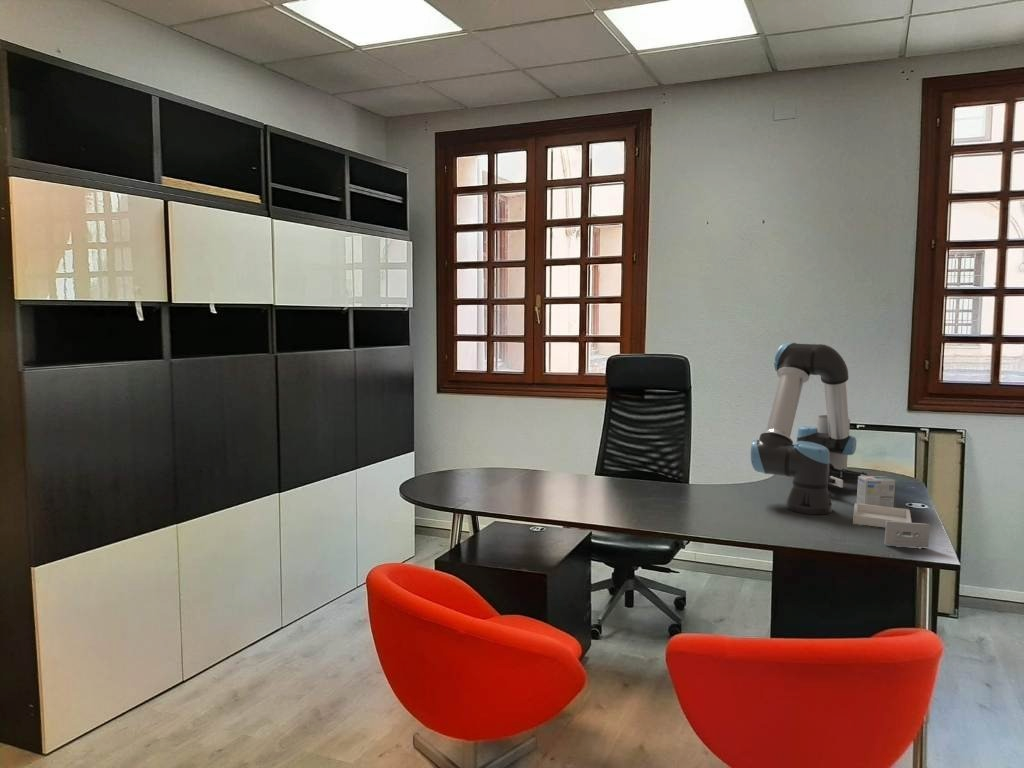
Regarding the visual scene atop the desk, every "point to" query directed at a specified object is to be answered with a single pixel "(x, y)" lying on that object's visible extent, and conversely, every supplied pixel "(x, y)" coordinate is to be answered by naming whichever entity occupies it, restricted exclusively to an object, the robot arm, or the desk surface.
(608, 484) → the desk surface
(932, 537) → the desk surface
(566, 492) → the desk surface
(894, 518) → the holder tray
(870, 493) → the light bulb box
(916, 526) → the cassette
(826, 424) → the cylinder vase
